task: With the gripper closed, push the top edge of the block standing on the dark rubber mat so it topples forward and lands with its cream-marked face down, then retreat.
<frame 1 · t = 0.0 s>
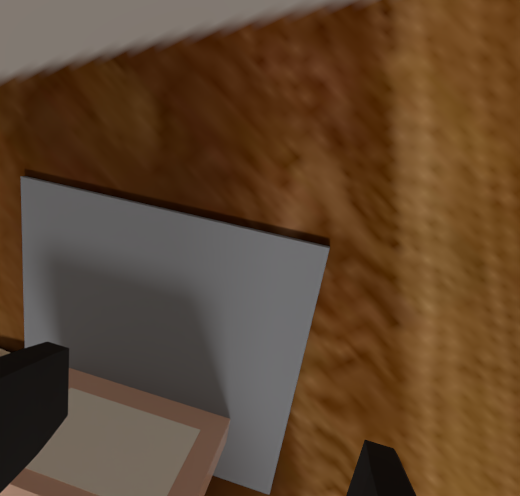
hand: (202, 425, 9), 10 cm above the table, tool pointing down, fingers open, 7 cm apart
block: (145, 403, 22), resting on mat
mat: (154, 341, 21), on the table
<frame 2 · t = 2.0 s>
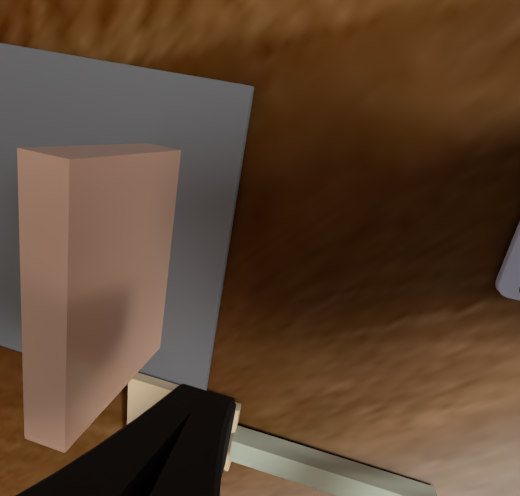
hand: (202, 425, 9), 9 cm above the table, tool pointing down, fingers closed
block: (154, 253, 18), resting on mat
mat: (84, 232, 19), on the table
turner: (272, 446, 20), on the table, tilted 5°, touching mat
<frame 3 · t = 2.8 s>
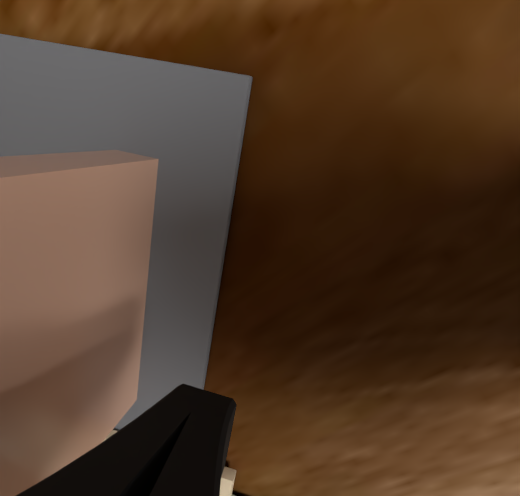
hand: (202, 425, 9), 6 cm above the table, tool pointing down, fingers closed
block: (127, 287, 15), resting on mat
mat: (41, 259, 16), on the table
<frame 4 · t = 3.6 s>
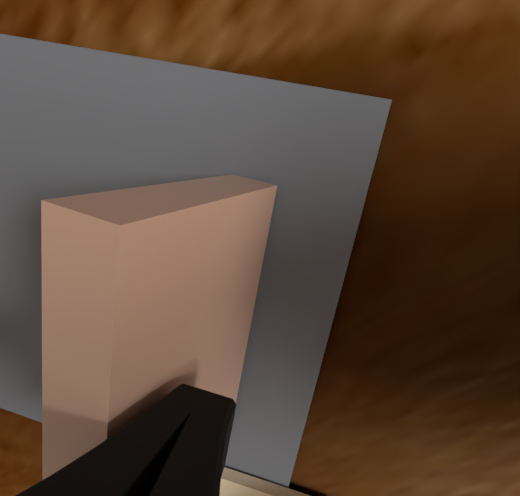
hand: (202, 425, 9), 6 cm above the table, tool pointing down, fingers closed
block: (230, 317, 14), resting on mat, tilted 9°, touching gripper
mat: (136, 285, 15), on the table
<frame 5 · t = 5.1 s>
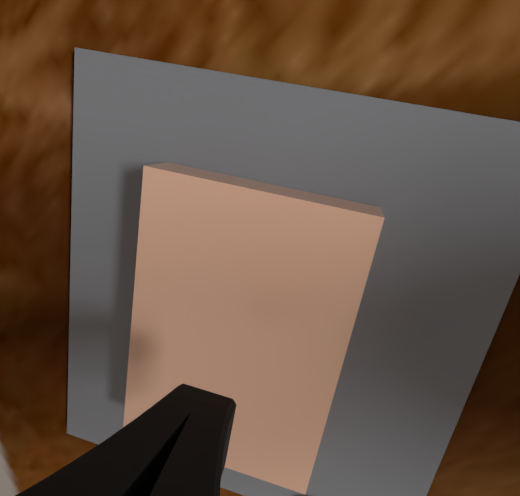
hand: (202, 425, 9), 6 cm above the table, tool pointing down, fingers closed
block: (340, 360, 12), point 1 cm above the table, tilted 90°, touching mat
mat: (256, 319, 14), on the table
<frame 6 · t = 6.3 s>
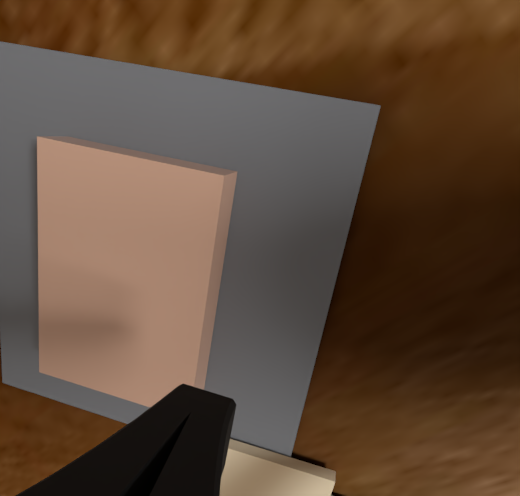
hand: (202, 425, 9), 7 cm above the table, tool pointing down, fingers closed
block: (212, 302, 15), point 1 cm above the table, tilted 90°, touching mat
mat: (152, 273, 16), on the table
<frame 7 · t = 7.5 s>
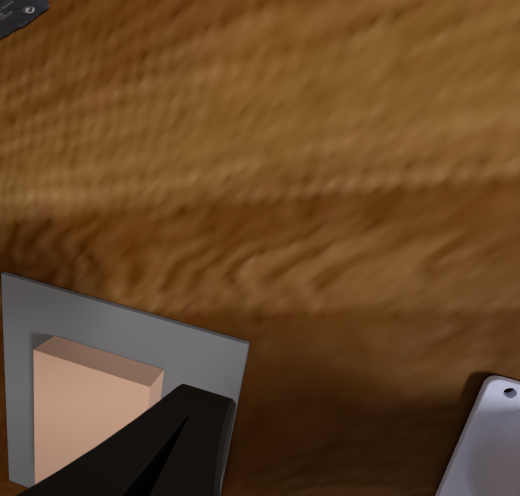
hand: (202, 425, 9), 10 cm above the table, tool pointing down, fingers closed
block: (149, 450, 22), point 1 cm above the table, tilted 90°, touching mat
mat: (112, 419, 24), on the table
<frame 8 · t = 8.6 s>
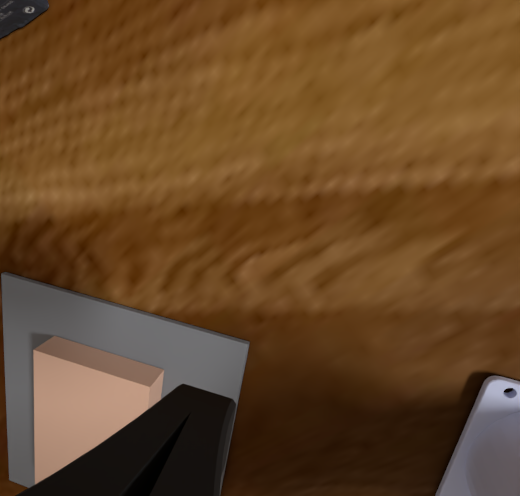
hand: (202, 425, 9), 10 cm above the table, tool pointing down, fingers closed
block: (149, 450, 22), point 1 cm above the table, tilted 90°, touching mat
mat: (112, 419, 24), on the table
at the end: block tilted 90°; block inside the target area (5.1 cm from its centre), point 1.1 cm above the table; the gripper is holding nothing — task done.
